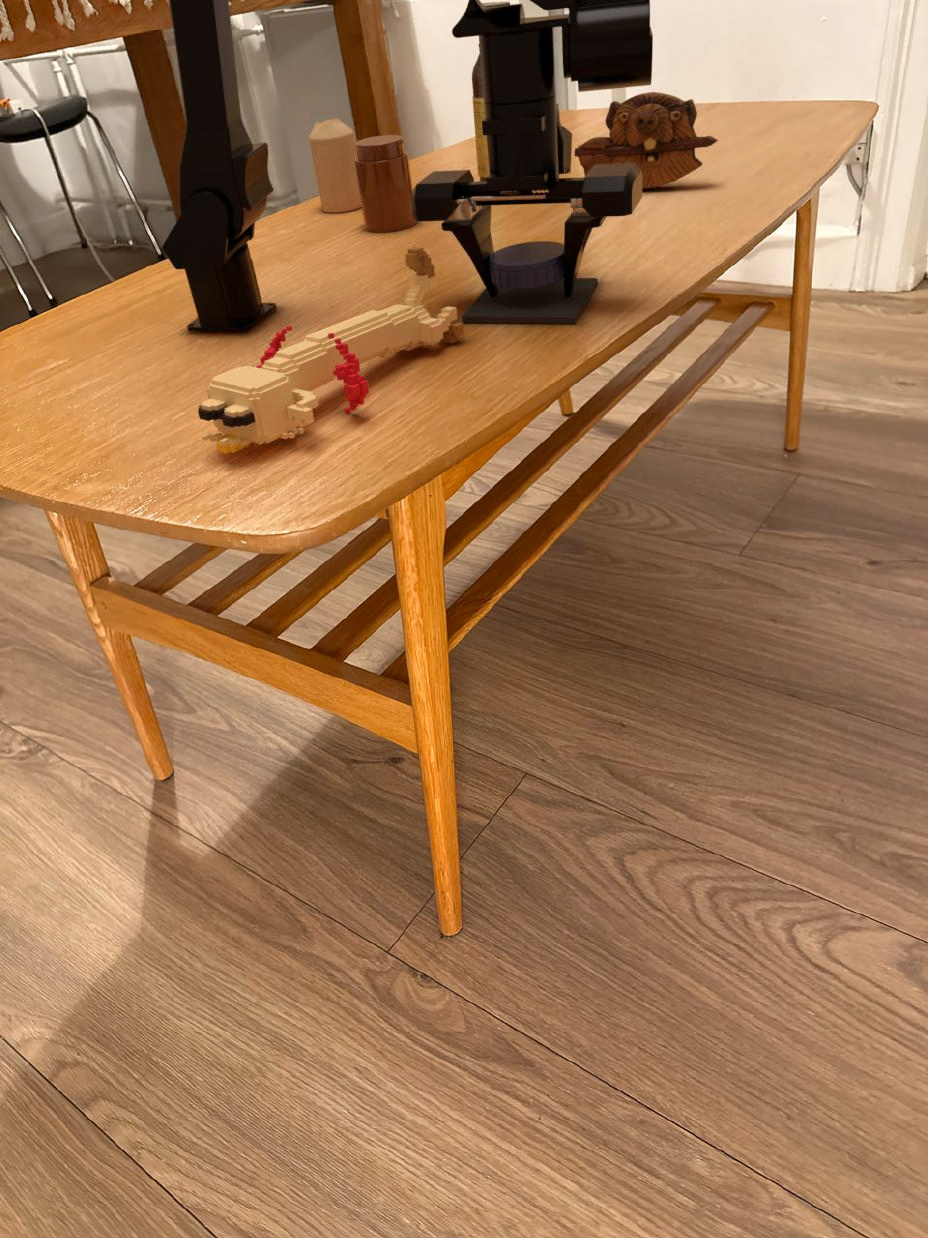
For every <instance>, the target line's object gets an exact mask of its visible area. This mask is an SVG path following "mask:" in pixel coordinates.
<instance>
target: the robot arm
mask: <svg viewBox="0 0 928 1238" xmlns="http://www.w3.org/2000/svg"><path fill="white" fill-rule="evenodd" d="M168 2H169V9H170V10H169V11H170V18H171V24H172V31H173V39H174V46H175V52H176V58H177V67H178V73H179V74H178V75H179V82H180V86H181V95H182V102H183V111H184V116H185V117H184V118H185V131H184V132H185V133H184V138H183V142H182V148H181V154H180V160H179V164H178V212H179V214H180V215H179V217H178V218H177V220H176V223H175V224H174V225H173V227H172V229H171V230H170V232H169V234H168V235H167V238H166V239H165V241H164V243H163V245H162V250H163V252H164V253H165V256H166V257H167V258H168V260H169V261H170V263H171V265H172V266H173V268H174V269H175V270H184V272H185V276H186V279H187V284H188V285H189V290H190V293H191V297H192V300H193V304H194V308H195V312H196V314H197V315H196V316H197V318H195V319H194V320H192V321H191V322H190V323H188V324H187V325H186V330H187V331H188V332H197V333H198V332H204V333H208V332H209V333H210V332H211V333H246V332H248V331H250V330H251V329H253V328H254V327H255V326H256V325H258V324H259V323H261V322H262V321H263V320H265V318H267V317H268V316H269V315H270V314H272V313H273V312H274V311H276V310H277V308H278V306H277V303H276V302H262V295H261V291H260V287H259V282H258V279H257V274H256V271H255V266H254V262H253V259H252V256H251V252H250V248H249V244H248V243H249V241H252V240H253V239H254V237H255V229H256V222H257V220H258V219H259V218H260V217H261V216H262V215H263V213H264V212H265V209H266V206H267V202H268V201H267V200H268V196H269V195H271V194H272V193H273V192H274V187H273V185H272V182H271V181H270V175H269V169H268V168H269V167H268V163H269V145H268V143H267V142H259V143H253V142H252V140H251V138H250V136H249V133H248V131H247V129H246V127H245V125H244V122H243V118H242V112H241V102H240V94H239V93H240V92H239V85H238V76H237V75H238V74H237V66H236V65H237V64H236V57H235V47H234V39H233V28H232V20H231V10H230V9H231V8H230V0H168ZM529 2H532V3H533V4H534V5H536V6H538V7H539V8H540V9H542V10H543V11H554V10H564V9H568V13H564V14H563V13H562V14H555V15H546V16H544V15H543V16H532V17H526V14H525V8H524V4H523V3H514V4H510V5H504V6H495V7H485V6H484V5H483V4H482V3H483V2H481V0H468V2H467V6H466V8H465V10H464V12H463V15H462V16H461V18H460V19H459V20H458V21H457V23H456V24H455V25H454V26H453V27H452V29H451V34H452V36H453V37H454V38H456V39H461V38H471V37H478V46H479V45H480V51H479V53H480V57H481V70H482V82H483V95H484V108H485V119H484V120H483V121H482V130H483V135H487V146H488V158H489V170H490V175H489V176H488V177H487V178H486V179H487V181H480V180H479V181H475V178H474V176H473V174H472V171H471V170H470V169H459V170H456V169H455V170H436V171H432V172H431V173H429V174H428V175H427V176H425V177H424V178H423V179H422V180H420V181H419V182H417V183H416V184H415V186H414V187H413V191H412V196H411V204H412V212H413V219H414V220H415V221H417V222H441V224H440V225H441V230H442V231H443V232H451V233H452V234H453V236H454V237H455V239H456V241H457V242H458V243H459V244H460V246H461V247H462V249H463V251H465V253H466V255H467V256H468V257H469V259H470V261H471V262H472V265H473V267H474V268H475V270H476V272H477V274H478V275H479V277H480V279H481V281H482V283H483V286H484V287H485V289H487V291H488V292H489V294H490V296H491V297H496V295H497V294H498V286H496V285H494V284H493V283H492V282H491V275H490V267H489V264H490V261H489V257H490V256H491V254H493V253H494V252H495V251H494V244H493V237H492V229H491V226H492V225H491V224H492V206H512V205H514V206H516V205H547V204H550V205H551V204H570V209H572V212H571V213H570V215H569V216H568V217H567V218H566V220H565V221H564V231H563V232H564V233H563V236H564V237H563V244H564V290H565V296H566V297H570V296H571V294H572V292H573V288H574V285H575V281H576V278H578V274H579V270H580V267H581V263H582V260H583V257H584V252H585V248H586V245H587V243H588V240H589V238H590V235H591V233H592V231H593V229H595V228H600V227H602V225H603V224H604V222H605V221H606V219H607V218H608V217H610V218H611V217H625V216H629V215H633V213H634V212H635V210H636V208H637V206H638V204H639V203H640V201H641V199H642V198H643V188H642V172H641V170H640V168H639V167H638V166H637V165H636V163H617V164H595V165H594V166H593V167H592V168H591V170H590V171H589V172H588V173H587V174H586V176H585V175H584V176H583V177H582V176H581V177H560V175H567V174H570V173H571V171H572V148H573V146H572V145H573V132H571V131H570V130H568V129H567V128H566V127H565V126H562V123H561V119H560V110H559V103H557V85H556V84H557V83H556V60H555V58H556V57H555V33H554V29H555V28H561V50H562V51H561V54H562V71H563V73H562V74H563V79H570V82H571V83H572V82H577V89H578V93H585V92H593V91H603V90H604V91H605V90H614V89H615V90H616V89H624V88H636V87H644V86H651V85H652V77H653V52H654V51H653V49H654V48H653V47H654V45H653V43H654V37H653V36H654V35H653V30H652V27H651V0H529ZM511 191H512V192H511ZM503 192H508V193H503Z"/></svg>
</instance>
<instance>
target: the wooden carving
mask: <svg viewBox="0 0 928 1238" xmlns="http://www.w3.org/2000/svg"><path fill="white" fill-rule="evenodd" d="M608 107H609V108H608V112H607V114H606V118H605V125H606V127H607V129H608V130H609V134H608V136H595V137H592V138H591V137H590V138H589V139H588V140H586V141H585V142H583V143H581V144H579V145H578V146H577V147H575V148H574V157H575V158H576V157H577V158H578V161H579V164H580V166H581V167H582V169H583V174H584V177H585V176H586V174H587V173H588V172H589V171H590V170H591V168H592V167H593V166H594V165H595V164H617V163H636V165H637V166H638V167H639V168H640V170H641V172H642V189H651V188H659V187H662V186H665V185H669V184H670V183H674V182H676V181H678V180H680V179H682V178H684V177H685V176H688V175H690V174H691V173H693V172H694V171H696V170H697V169H699V168H701V166H703V162H702V161H701V160H700V159H699V158H697V157H696V149H699V148H700V149H701V148H708V147H711V146H713V145H715V144H716V143H717V142H718V141H719V140H718V139H717V138H716V137H714V136H712V135H706V136H697V134H696V130H695V128H694V125H695V123H696V120H697V116H698V112H697V107H696V104H695V101H694V99H693V98H690V99H687V100H683V99H681V98H680V97H678V96H676V95H672V94H669V93H665V92H657V91H649V92H643V93H639V94H636V95H634V96H631V97H629V98H627V99H626V100H624V101H623V102H619V101H617V100H613V101H612V102H610V104H609V106H608Z"/></svg>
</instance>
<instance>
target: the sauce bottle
mask: <svg viewBox="0 0 928 1238" xmlns="http://www.w3.org/2000/svg"><path fill="white" fill-rule="evenodd" d="M481 3H482V4H483V5H484V6H485V7H495V6H504V5H511V2H510V1H491V2H489V1H488V2H481ZM478 48H479V49H478V50H479V51H478V52H479V54H478V56H477V59H476V61H475V63H474V65H473V68H472V71H471V84H472V97H471V98H472V111H473V124H474V136H475V138H474V139H475V151H476V163H477V165H476V166H477V175H478V177H479V181H487V179H486V178H487V177H488V176H489V175H490V170H489V158H488V146H487V135H483V130H482V121H483V120H484V119H485V108H484V95H483V82H482V70H481V57H480V45H479V44H478ZM504 193H506V194H508V193H509V192H503V194H504ZM510 193H513V192H512V191H511V192H510Z"/></svg>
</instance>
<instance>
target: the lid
mask: <svg viewBox="0 0 928 1238" xmlns="http://www.w3.org/2000/svg"><path fill="white" fill-rule="evenodd" d="M489 261H490V264H489V267H490V275H491V282H492V283H493V284H494V285H496V286H498V287H501V288H507V289H527V288H535V287H540V286H545V285H548V284H551V283H554V282H557V281H559V280H561V279H563V278H564V243H562V242H557V241H550V240H538V241H537V240H536V241H526V242H520V243H515V244H512V245H508V246H505V247H502V248H500V249H498V250H496V251H494V253H493V254H491V256H490V257H489Z"/></svg>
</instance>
